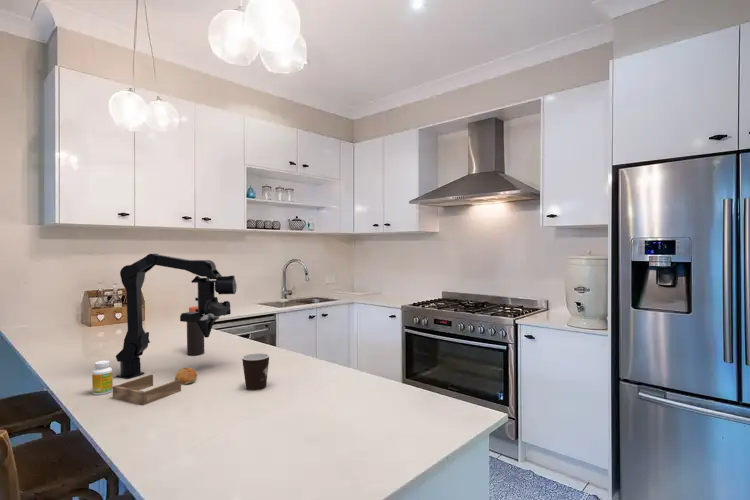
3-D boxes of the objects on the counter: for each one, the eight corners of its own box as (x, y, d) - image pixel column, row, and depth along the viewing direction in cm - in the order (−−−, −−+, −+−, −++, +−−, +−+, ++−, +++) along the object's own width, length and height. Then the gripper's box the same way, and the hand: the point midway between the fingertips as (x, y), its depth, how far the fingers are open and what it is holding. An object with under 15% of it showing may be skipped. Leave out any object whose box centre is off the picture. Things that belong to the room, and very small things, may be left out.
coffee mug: (255, 393, 132) (254, 361, 132) (236, 388, 136) (236, 357, 136) (281, 382, 142) (281, 353, 142) (263, 378, 146) (263, 350, 146)
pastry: (199, 383, 142) (199, 372, 142) (178, 387, 139) (177, 375, 139) (194, 376, 150) (194, 365, 150) (174, 379, 147) (173, 368, 147)
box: (112, 398, 129) (112, 386, 129) (151, 384, 141) (150, 374, 141) (143, 405, 123) (143, 393, 123) (181, 390, 135) (180, 379, 135)
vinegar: (198, 351, 185) (198, 305, 184) (207, 353, 181) (206, 306, 180) (183, 354, 179) (183, 307, 179) (192, 356, 175) (192, 309, 175)
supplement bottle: (102, 395, 131) (102, 364, 131) (88, 394, 132) (87, 363, 132) (116, 389, 136) (116, 360, 136) (102, 388, 137) (102, 359, 137)
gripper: (202, 299, 141) (202, 345, 141) (241, 292, 158) (242, 334, 158) (178, 297, 146) (179, 342, 146) (219, 291, 163) (219, 331, 163)
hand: (206, 337), depth 153 cm, fingers closed
